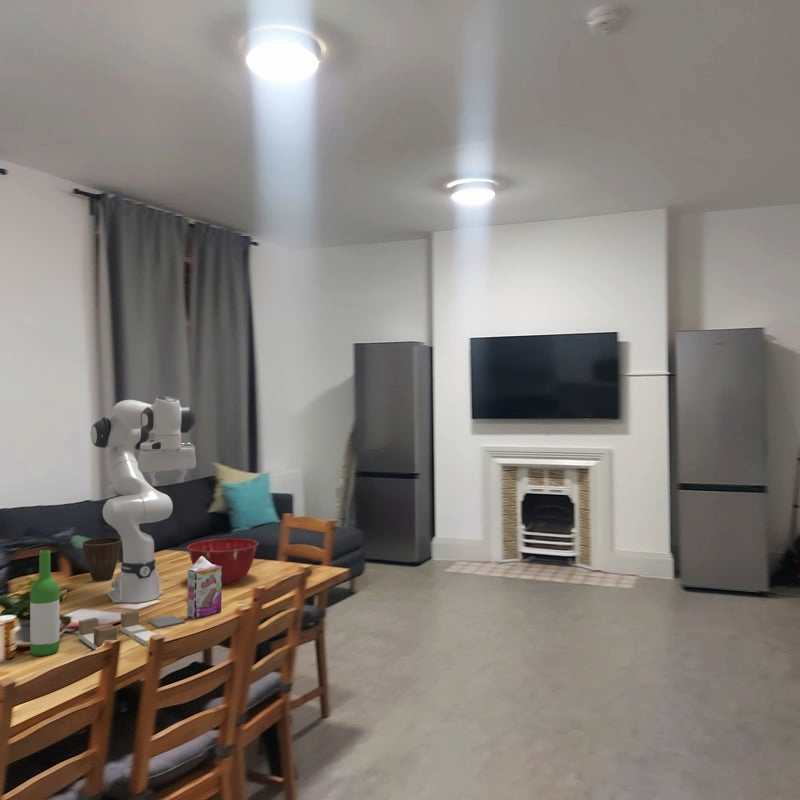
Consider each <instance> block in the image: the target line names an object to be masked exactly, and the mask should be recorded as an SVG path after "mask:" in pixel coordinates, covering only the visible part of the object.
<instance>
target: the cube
mask: <svg viewBox="0 0 800 800" xmlns="http://www.w3.org/2000/svg"><path fill="white" fill-rule="evenodd" d="M117 639H118V629H117V627H116V626H115V625H113V624H112V623H108V624H104V625H98V627H94V645H96V646H97V647H100V646H102V644H103V642H104V641H105V640H117ZM117 641H118V640H117Z"/></svg>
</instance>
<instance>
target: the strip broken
mask: <svg viewBox="0 0 800 800" xmlns="http://www.w3.org/2000/svg"><path fill="white" fill-rule="evenodd" d="M120 631H121V632H123V633H124V634H125V635H128V636H129V637H132V636H133V639H134V640H135V641H137V642H139V644H142V645H143V646H145V647H147V646H148V645H147V644H148V640H149V638H150V636H152V635H157V633H155V632H153V631H151V630H146V628H145V627H144V626H142V625H140V612H139V611H137V610H131V611H127V612H122V613H120ZM146 645H147V646H146Z"/></svg>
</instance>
